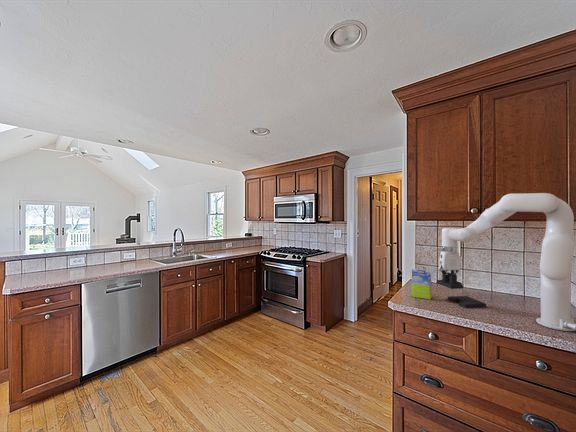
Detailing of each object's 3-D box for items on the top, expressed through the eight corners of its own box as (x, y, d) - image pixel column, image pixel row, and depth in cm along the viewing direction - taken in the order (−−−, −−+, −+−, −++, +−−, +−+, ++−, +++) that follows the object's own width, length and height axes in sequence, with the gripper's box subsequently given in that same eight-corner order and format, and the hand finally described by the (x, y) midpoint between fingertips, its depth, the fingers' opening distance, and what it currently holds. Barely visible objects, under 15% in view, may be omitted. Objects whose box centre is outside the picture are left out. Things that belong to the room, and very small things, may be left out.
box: (431, 298, 157) (431, 269, 157) (430, 300, 153) (430, 271, 153) (412, 295, 163) (412, 268, 163) (411, 296, 159) (411, 269, 159)
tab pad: (467, 288, 141) (467, 275, 141) (450, 288, 140) (451, 276, 140) (452, 282, 153) (452, 271, 153) (436, 283, 152) (436, 271, 152)
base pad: (486, 307, 140) (486, 303, 140) (465, 307, 140) (465, 304, 140) (466, 299, 154) (466, 295, 154) (447, 299, 154) (447, 296, 154)
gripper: (440, 250, 142) (440, 283, 142) (468, 250, 143) (468, 283, 143) (431, 248, 150) (431, 280, 150) (458, 248, 151) (458, 279, 151)
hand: (449, 281), depth 147 cm, fingers closed on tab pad, 3 cm apart
